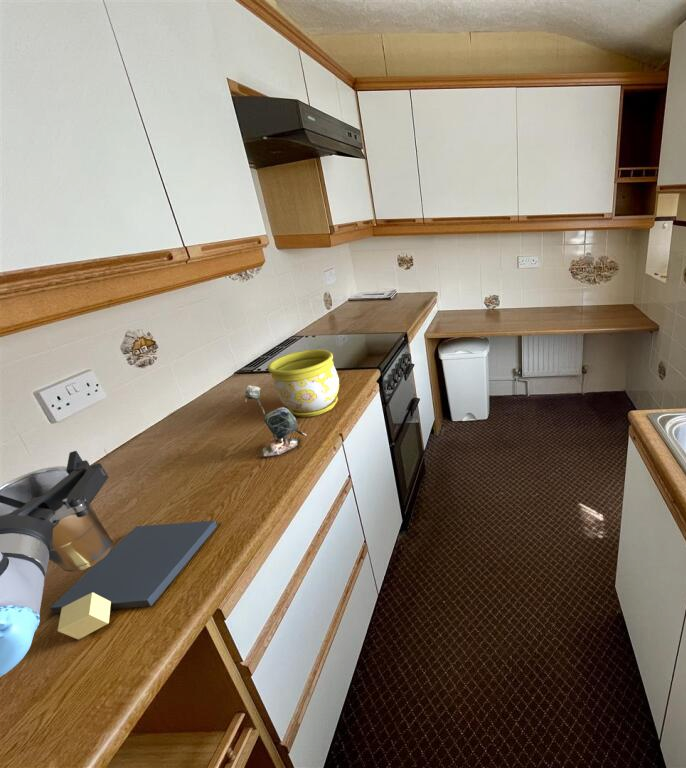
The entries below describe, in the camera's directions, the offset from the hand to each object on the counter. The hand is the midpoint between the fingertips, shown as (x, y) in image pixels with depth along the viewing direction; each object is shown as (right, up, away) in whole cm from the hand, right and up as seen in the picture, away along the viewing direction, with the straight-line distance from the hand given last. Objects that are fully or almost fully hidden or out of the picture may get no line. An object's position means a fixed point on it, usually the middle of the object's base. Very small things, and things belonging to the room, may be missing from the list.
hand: (27, 474), depth 61 cm
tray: (+4, -20, +15) cm, 25 cm away
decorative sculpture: (+11, -4, +48) cm, 50 cm away
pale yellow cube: (+6, -24, +4) cm, 25 cm away
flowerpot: (+9, +6, +69) cm, 70 cm away
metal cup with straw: (+2, -15, +6) cm, 17 cm away
